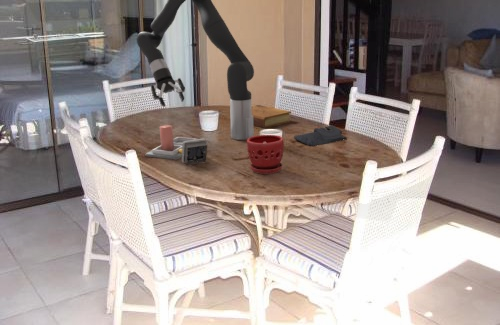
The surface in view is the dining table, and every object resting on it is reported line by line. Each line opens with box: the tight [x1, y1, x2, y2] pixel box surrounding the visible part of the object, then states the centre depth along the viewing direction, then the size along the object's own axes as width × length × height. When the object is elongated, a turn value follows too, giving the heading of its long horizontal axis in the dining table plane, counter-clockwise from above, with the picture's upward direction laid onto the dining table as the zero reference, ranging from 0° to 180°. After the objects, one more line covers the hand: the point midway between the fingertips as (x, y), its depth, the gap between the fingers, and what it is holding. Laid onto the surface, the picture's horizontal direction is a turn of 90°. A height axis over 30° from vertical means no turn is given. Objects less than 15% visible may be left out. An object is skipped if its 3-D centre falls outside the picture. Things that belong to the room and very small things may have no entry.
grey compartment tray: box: [145, 136, 198, 160], centre depth 234 cm, size 14×24×2 cm, turn 158°
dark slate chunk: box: [293, 124, 347, 147], centre depth 247 cm, size 15×22×5 cm
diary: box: [251, 104, 292, 129], centre depth 281 cm, size 23×19×6 cm
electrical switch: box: [181, 138, 208, 166], centre depth 215 cm, size 9×5×9 cm, turn 113°
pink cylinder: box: [159, 124, 174, 151], centre depth 227 cm, size 5×5×10 cm
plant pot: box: [246, 134, 285, 175], centre depth 205 cm, size 13×13×12 cm
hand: (173, 103), depth 249 cm, fingers open, 8 cm apart
